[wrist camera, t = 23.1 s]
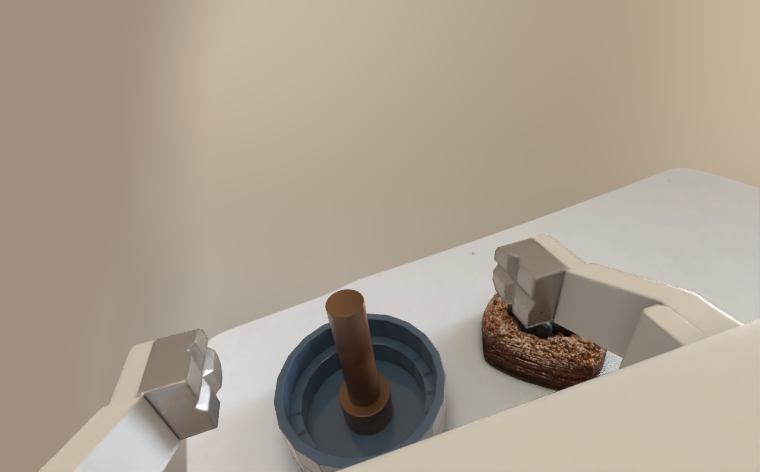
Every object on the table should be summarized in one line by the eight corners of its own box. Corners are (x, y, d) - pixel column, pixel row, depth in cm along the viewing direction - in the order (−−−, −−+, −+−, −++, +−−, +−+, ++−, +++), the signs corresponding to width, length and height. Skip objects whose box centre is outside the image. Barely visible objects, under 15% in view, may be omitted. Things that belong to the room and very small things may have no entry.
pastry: (600, 408, 32) (617, 368, 29) (468, 362, 38) (470, 323, 34) (604, 322, 40) (618, 283, 37) (494, 294, 45) (498, 257, 42)
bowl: (283, 518, 28) (261, 484, 25) (298, 362, 40) (284, 325, 37) (465, 487, 28) (467, 450, 25) (426, 342, 40) (424, 304, 37)
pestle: (344, 439, 32) (310, 332, 24) (343, 391, 36) (314, 286, 28) (396, 431, 32) (379, 321, 24) (389, 384, 36) (373, 277, 28)
